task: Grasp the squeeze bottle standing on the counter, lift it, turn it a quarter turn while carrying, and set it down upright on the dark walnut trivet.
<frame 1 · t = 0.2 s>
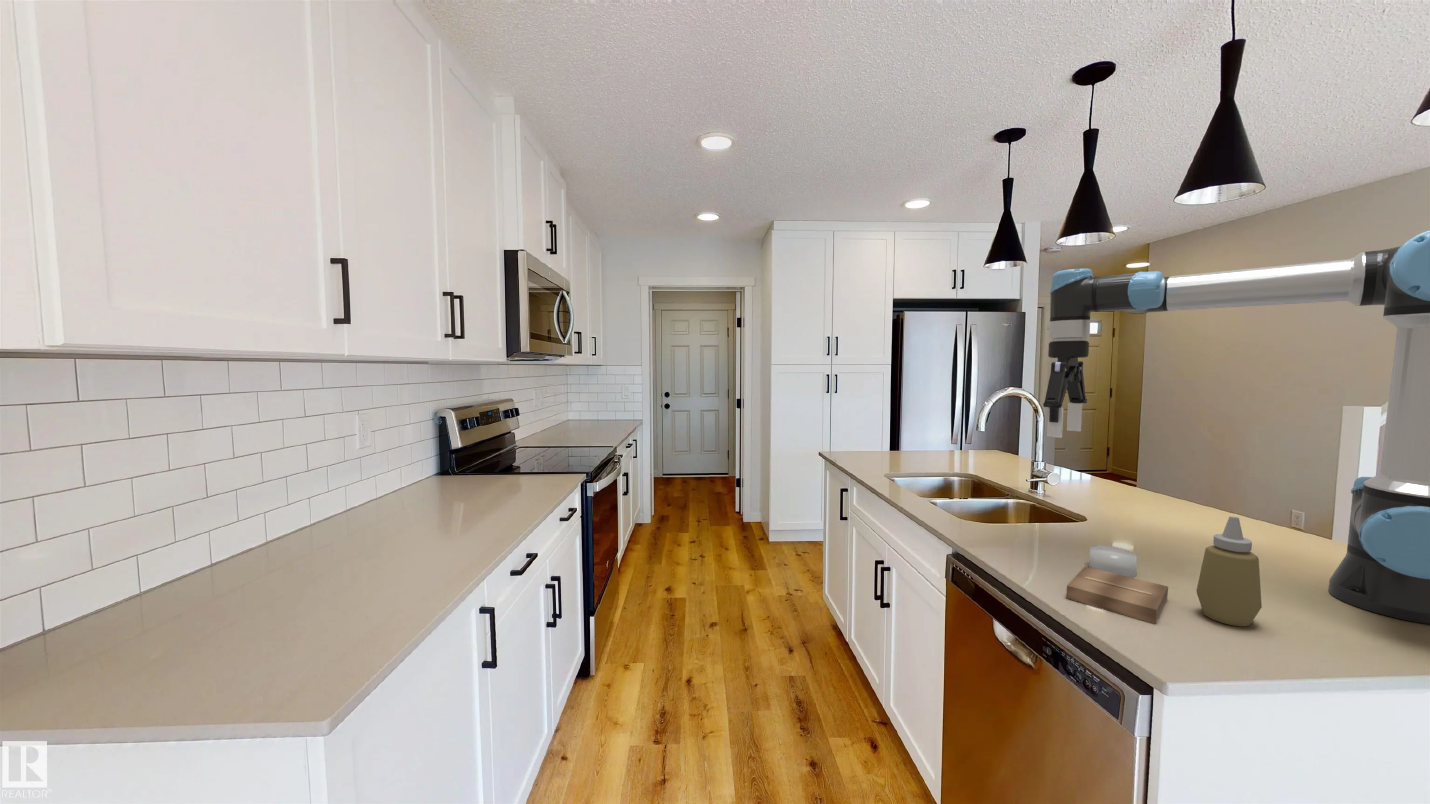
hand: (1064, 433, 118), 28 cm above the countertop, fingers open, 13 cm apart
walnut trivet: (1116, 598, 97), on the countertop
white dome cap: (1111, 570, 110), on the countertop
squeeze bottle: (1226, 619, 90), on the countertop
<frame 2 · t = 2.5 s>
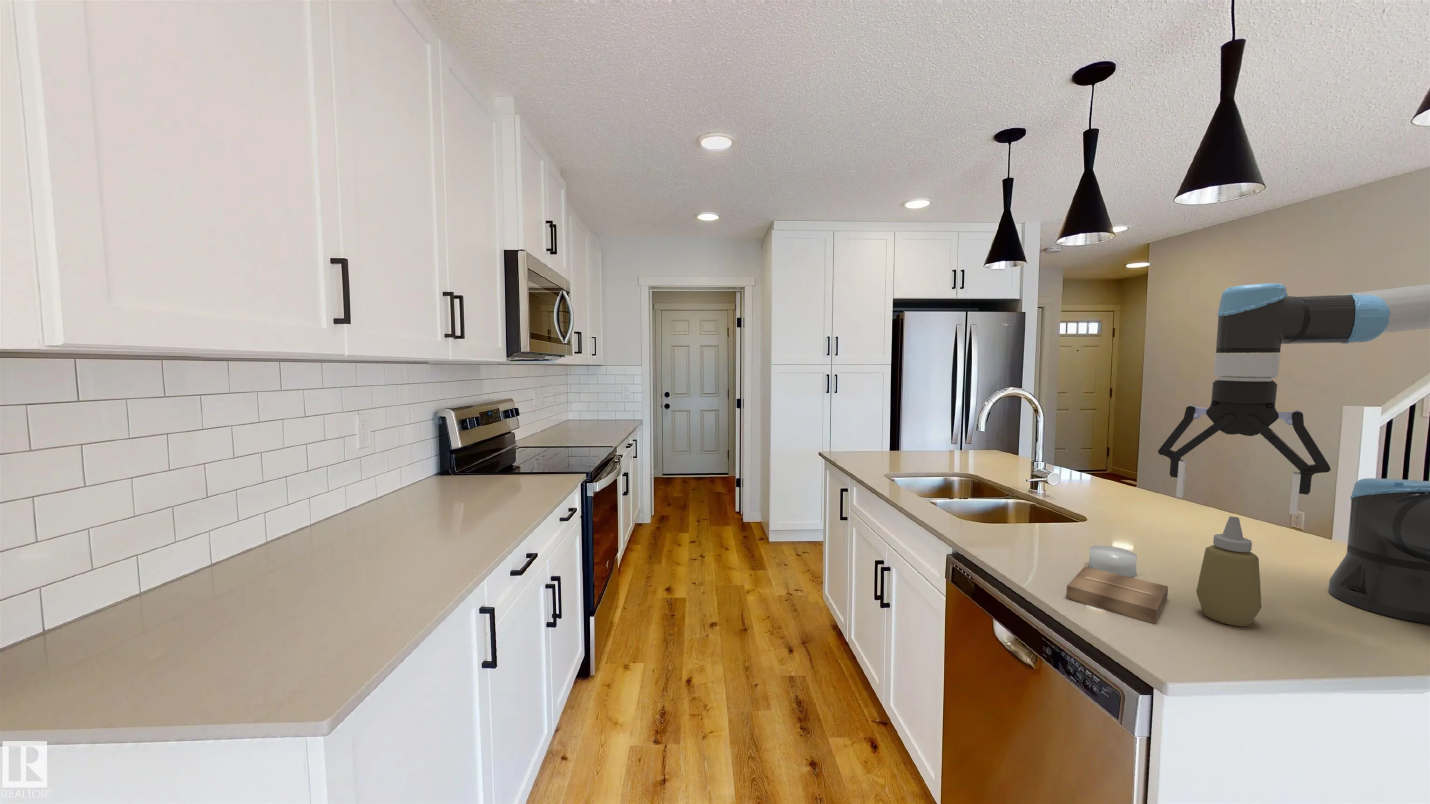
hand: (1233, 504, 88), 20 cm above the countertop, fingers open, 13 cm apart
nothing on the countertop moved.
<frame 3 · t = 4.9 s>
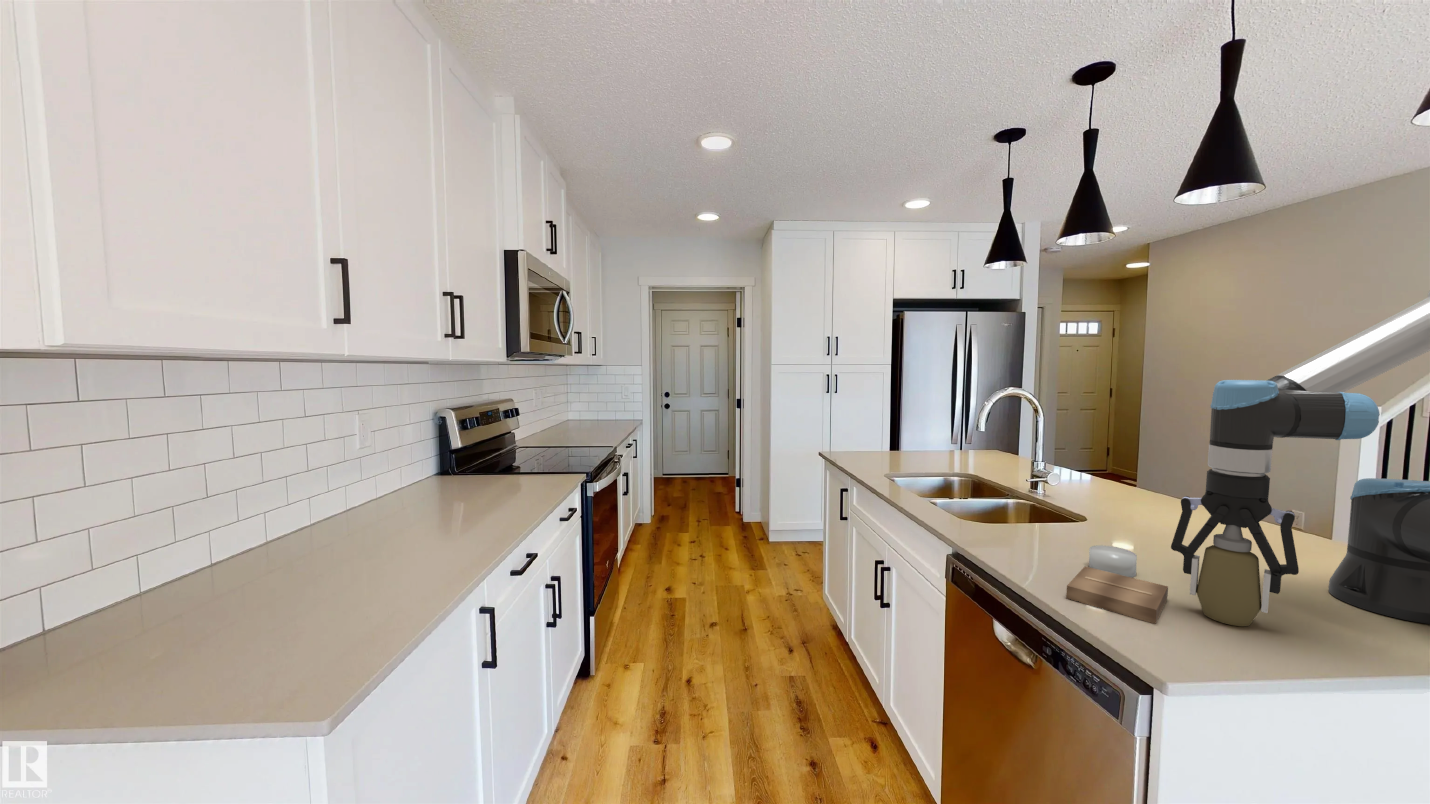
hand: (1227, 600, 89), 3 cm above the countertop, fingers closed on squeeze bottle, 8 cm apart
squeeze bottle: (1226, 619, 90), on the countertop, touching gripper
everything else where it was.
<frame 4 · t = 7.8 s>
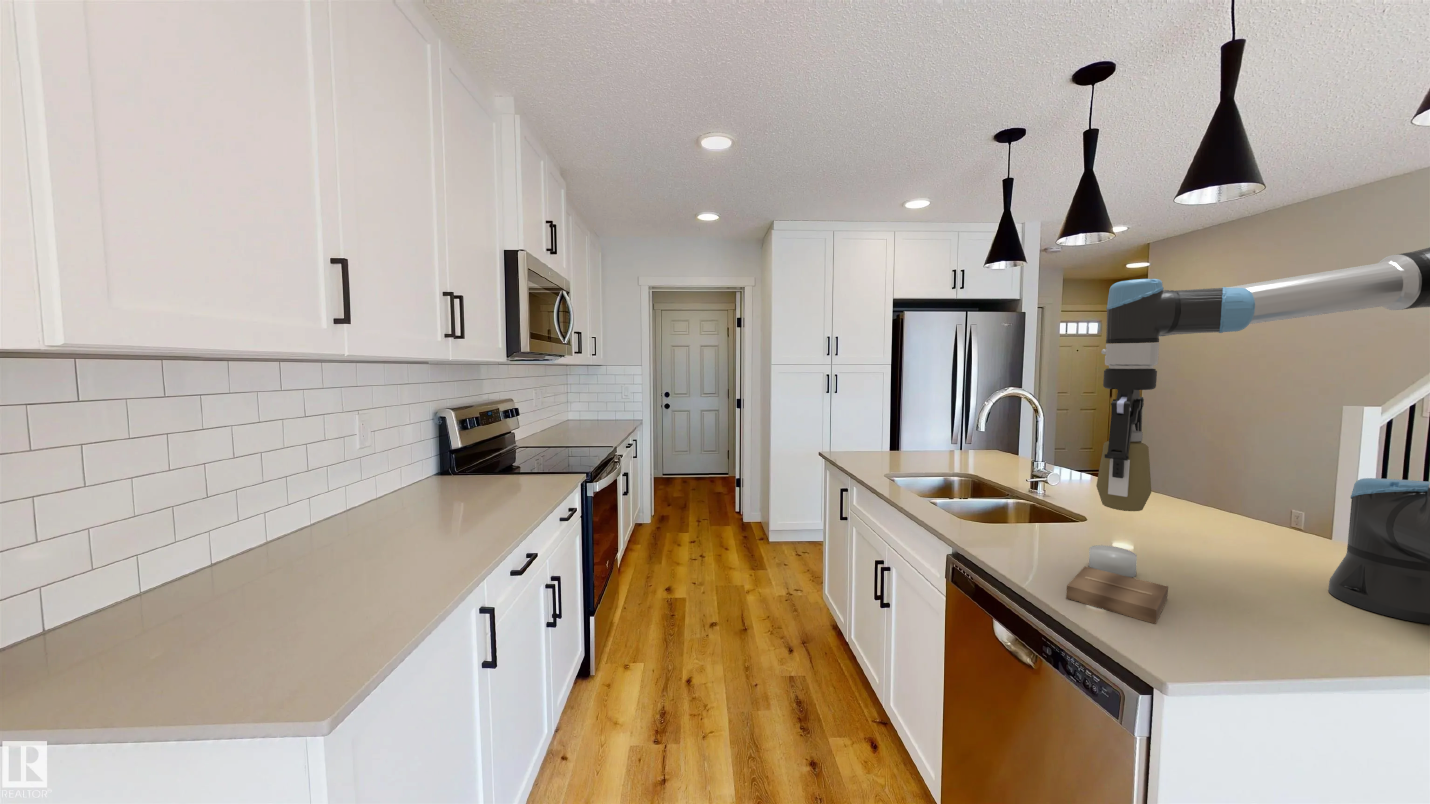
hand: (1122, 490, 95), 21 cm above the countertop, fingers closed on squeeze bottle, 8 cm apart
squeeze bottle: (1122, 508, 96), point 17 cm above the countertop, touching gripper
everything else where it was.
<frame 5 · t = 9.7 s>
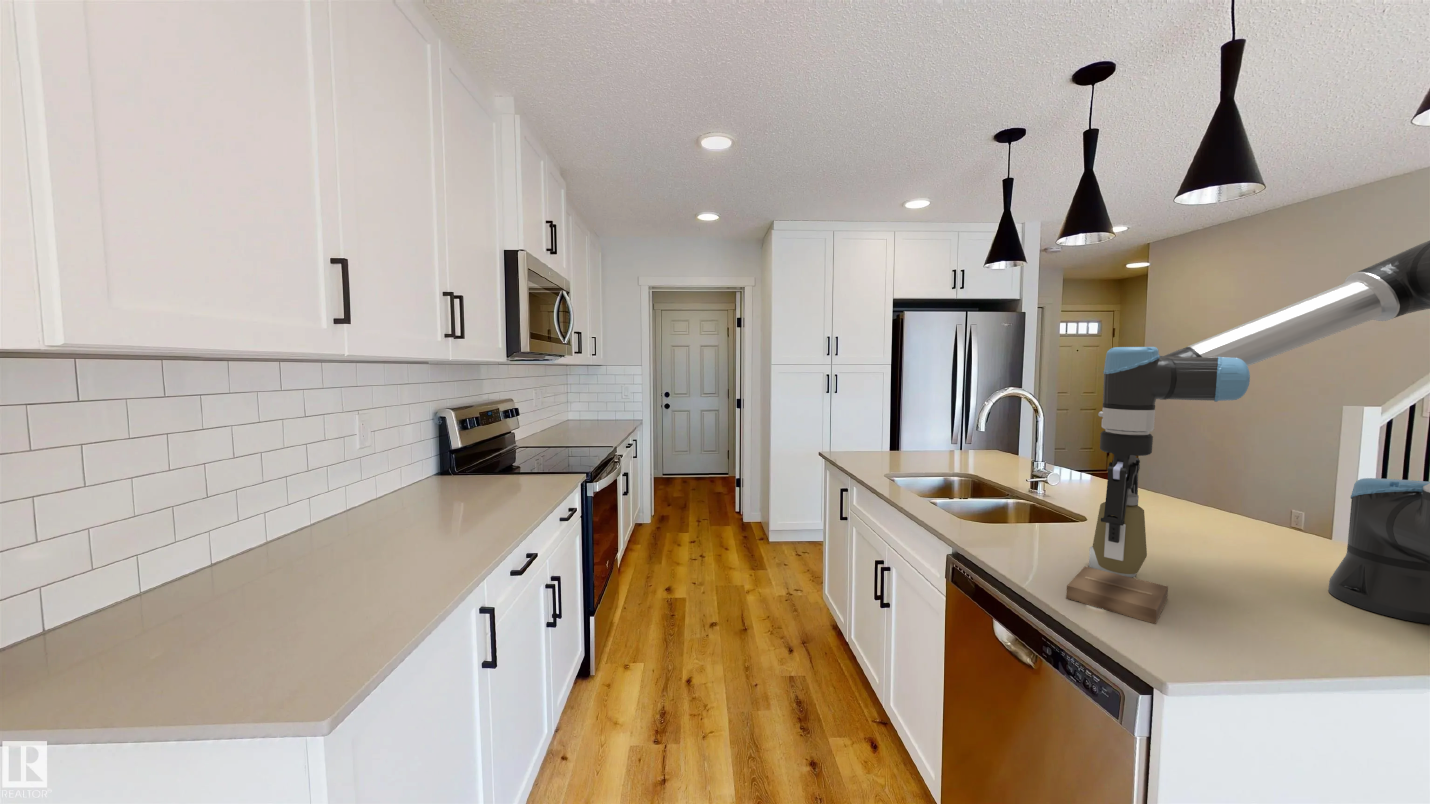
hand: (1118, 551, 97), 9 cm above the countertop, fingers closed on squeeze bottle, 8 cm apart
squeeze bottle: (1117, 569, 97), point 6 cm above the countertop, touching gripper
everything else where it was.
when the fingers open (7 cm above the countertop, at t = 11.0 s): squeeze bottle drops 1 cm, resting on walnut trivet.
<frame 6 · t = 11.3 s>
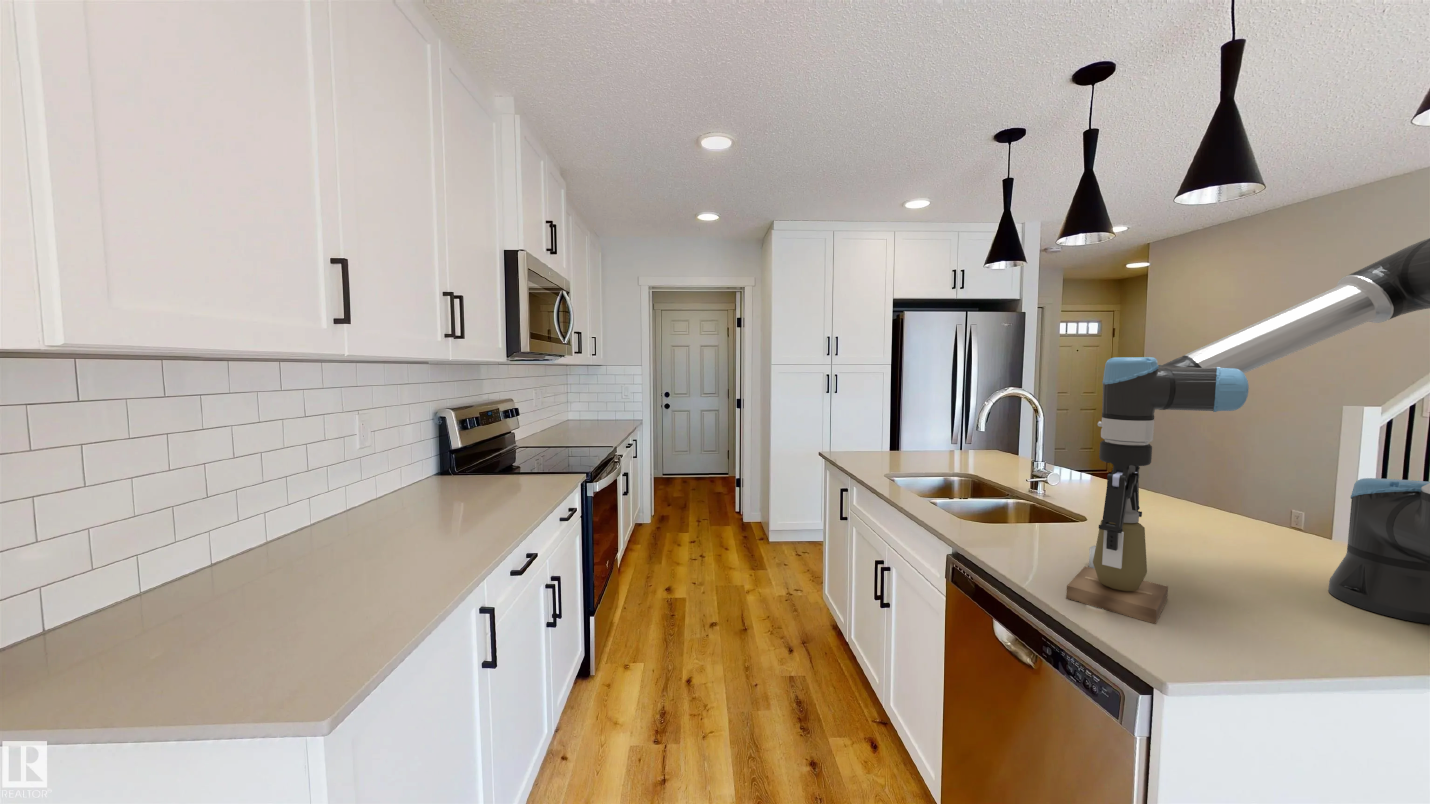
hand: (1118, 557, 97), 8 cm above the countertop, fingers open, 11 cm apart
squeeze bottle: (1117, 586, 97), point 2 cm above the countertop, touching walnut trivet
everything else where it was.
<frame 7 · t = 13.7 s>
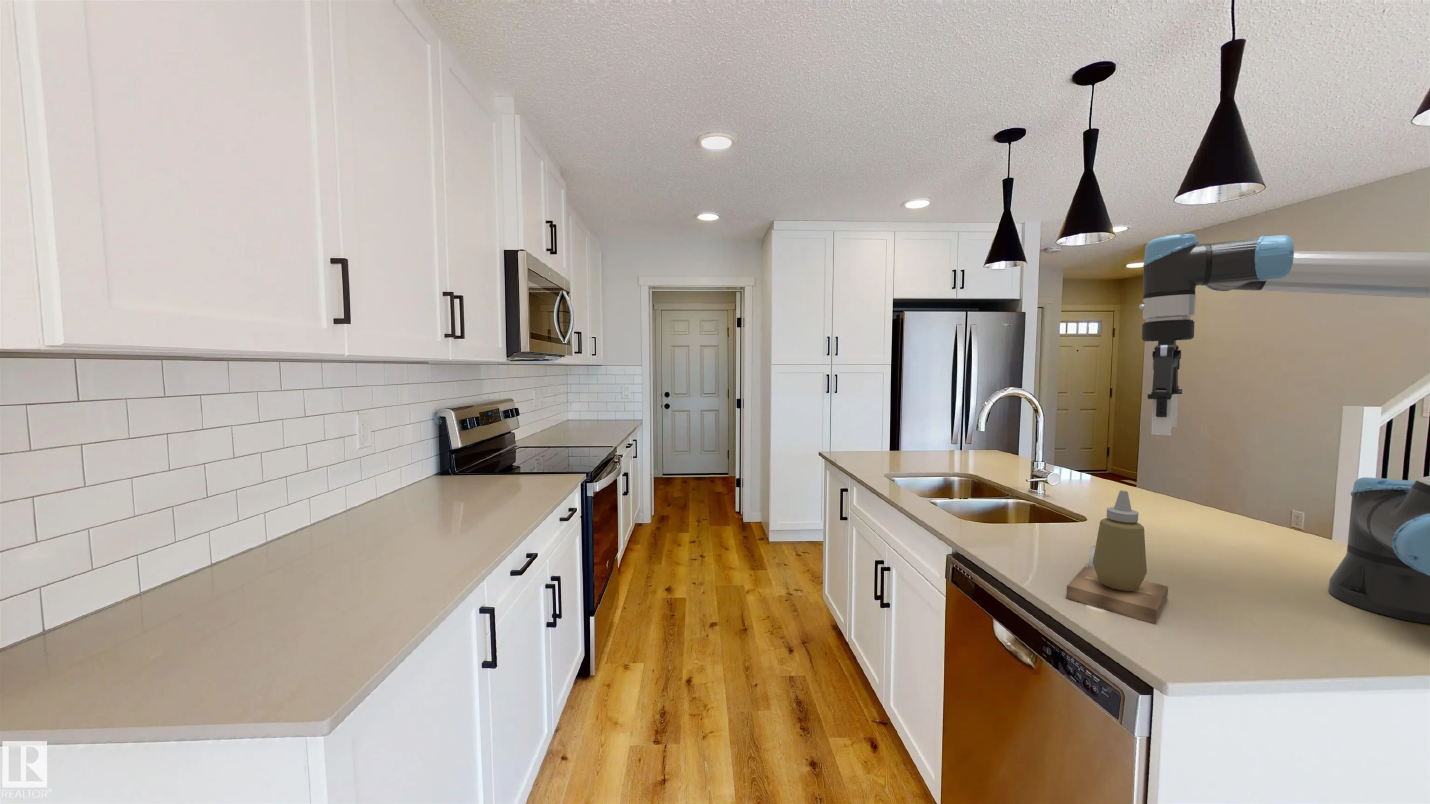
hand: (1164, 430, 100), 31 cm above the countertop, fingers open, 13 cm apart
nothing on the countertop moved.
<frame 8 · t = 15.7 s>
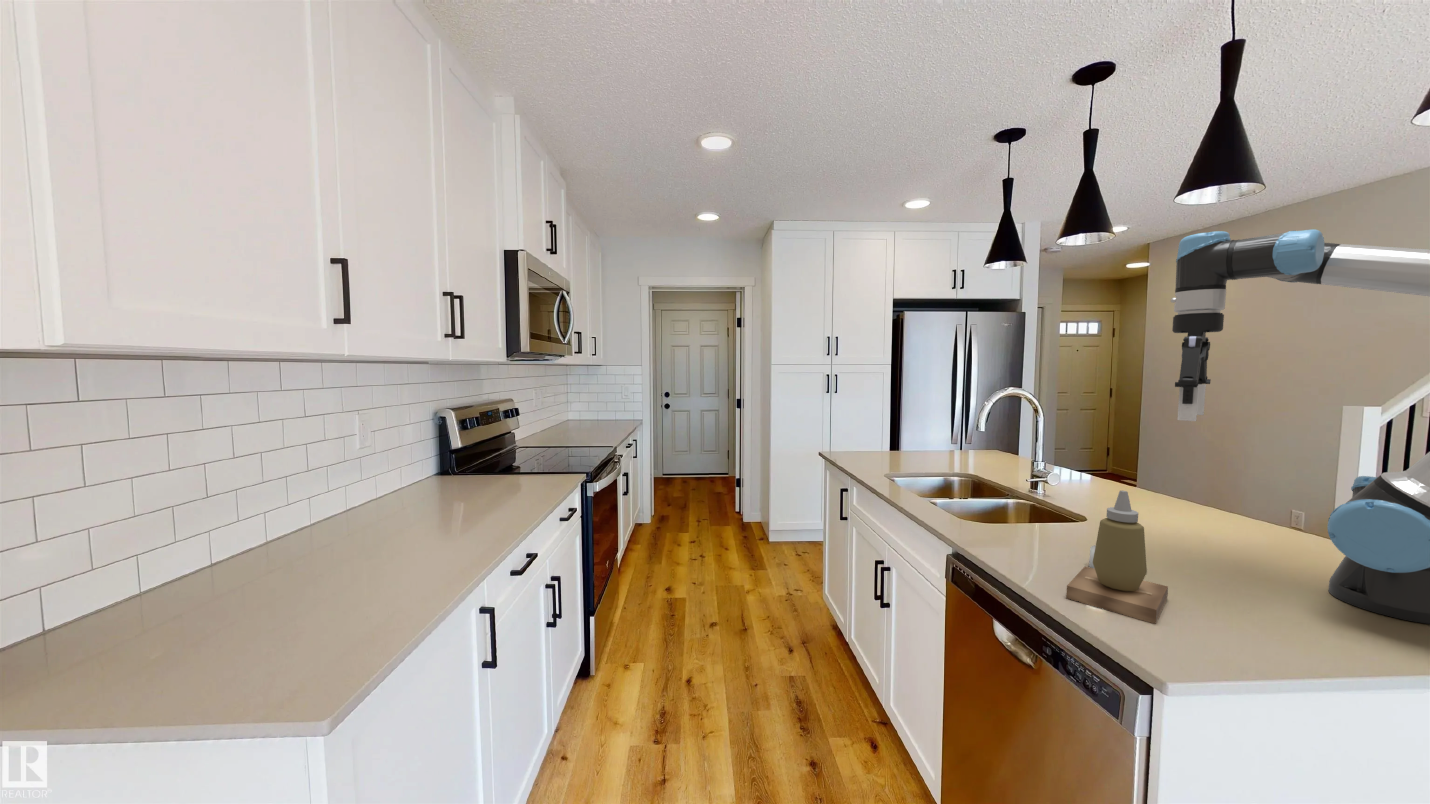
hand: (1190, 417, 106), 33 cm above the countertop, fingers open, 13 cm apart
nothing on the countertop moved.
at the end: squeeze bottle inside the target area on the walnut trivet (0.1 cm from its centre), point 2.5 cm above the walnut trivet's base; squeeze bottle tilted 0°; the gripper is holding nothing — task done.
